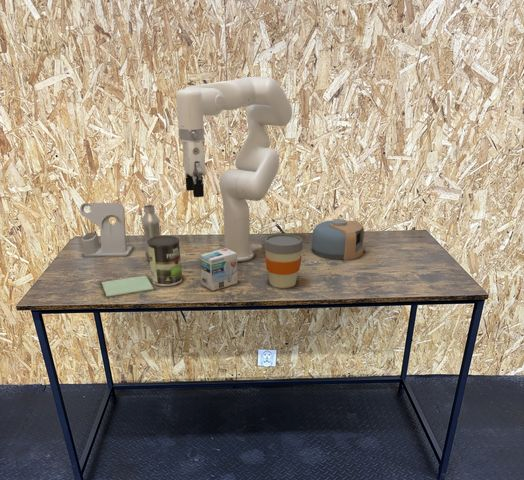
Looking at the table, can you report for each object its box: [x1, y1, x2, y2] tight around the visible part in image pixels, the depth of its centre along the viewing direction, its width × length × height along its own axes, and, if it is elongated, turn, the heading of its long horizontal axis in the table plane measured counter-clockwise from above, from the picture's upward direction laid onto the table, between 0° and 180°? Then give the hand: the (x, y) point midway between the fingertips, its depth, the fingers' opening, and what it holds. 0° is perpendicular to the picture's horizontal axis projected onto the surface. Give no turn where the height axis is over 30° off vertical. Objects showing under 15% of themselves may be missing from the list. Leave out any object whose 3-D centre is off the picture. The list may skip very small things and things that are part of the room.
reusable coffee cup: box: [263, 233, 304, 289], centre depth 164 cm, size 13×13×15 cm
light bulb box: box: [199, 247, 238, 292], centre depth 164 cm, size 11×7×11 cm, turn 129°
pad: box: [101, 275, 155, 298], centre depth 164 cm, size 15×12×1 cm
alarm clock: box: [311, 218, 365, 261], centre depth 191 cm, size 19×20×12 cm
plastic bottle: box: [141, 204, 161, 262], centre depth 181 cm, size 6×7×20 cm
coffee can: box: [147, 235, 183, 287], centre depth 165 cm, size 10×10×14 cm
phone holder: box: [79, 202, 133, 258], centre depth 189 cm, size 17×10×18 cm, turn 91°
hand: (194, 193), depth 158 cm, fingers open, 9 cm apart
